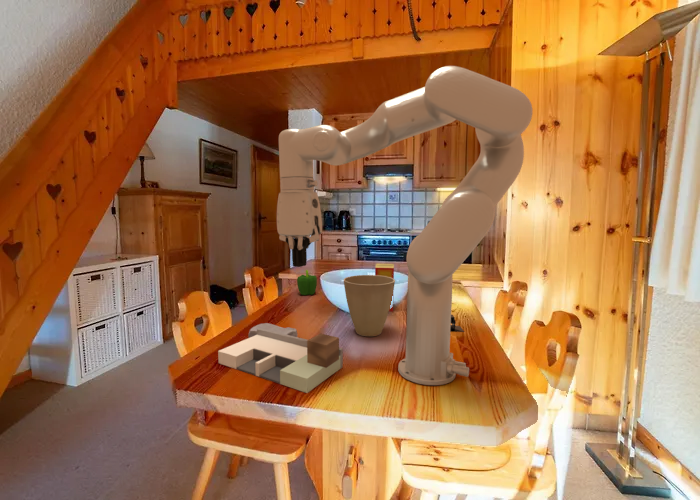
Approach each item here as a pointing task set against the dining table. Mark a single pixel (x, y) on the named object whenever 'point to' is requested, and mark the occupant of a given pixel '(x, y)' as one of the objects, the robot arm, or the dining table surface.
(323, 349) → the walnut cube
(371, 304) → the plant pot
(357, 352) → the dining table surface
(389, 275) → the baking soda box
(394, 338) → the dining table surface
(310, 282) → the bell pepper
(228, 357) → the box
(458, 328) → the build plate
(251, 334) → the stone block
